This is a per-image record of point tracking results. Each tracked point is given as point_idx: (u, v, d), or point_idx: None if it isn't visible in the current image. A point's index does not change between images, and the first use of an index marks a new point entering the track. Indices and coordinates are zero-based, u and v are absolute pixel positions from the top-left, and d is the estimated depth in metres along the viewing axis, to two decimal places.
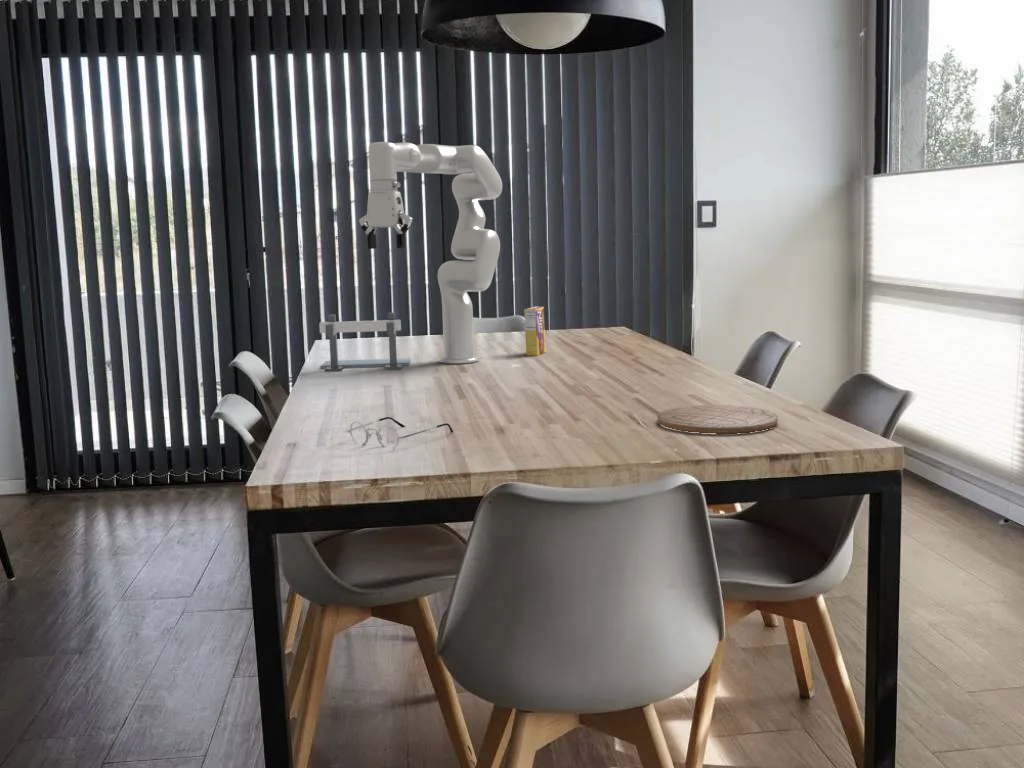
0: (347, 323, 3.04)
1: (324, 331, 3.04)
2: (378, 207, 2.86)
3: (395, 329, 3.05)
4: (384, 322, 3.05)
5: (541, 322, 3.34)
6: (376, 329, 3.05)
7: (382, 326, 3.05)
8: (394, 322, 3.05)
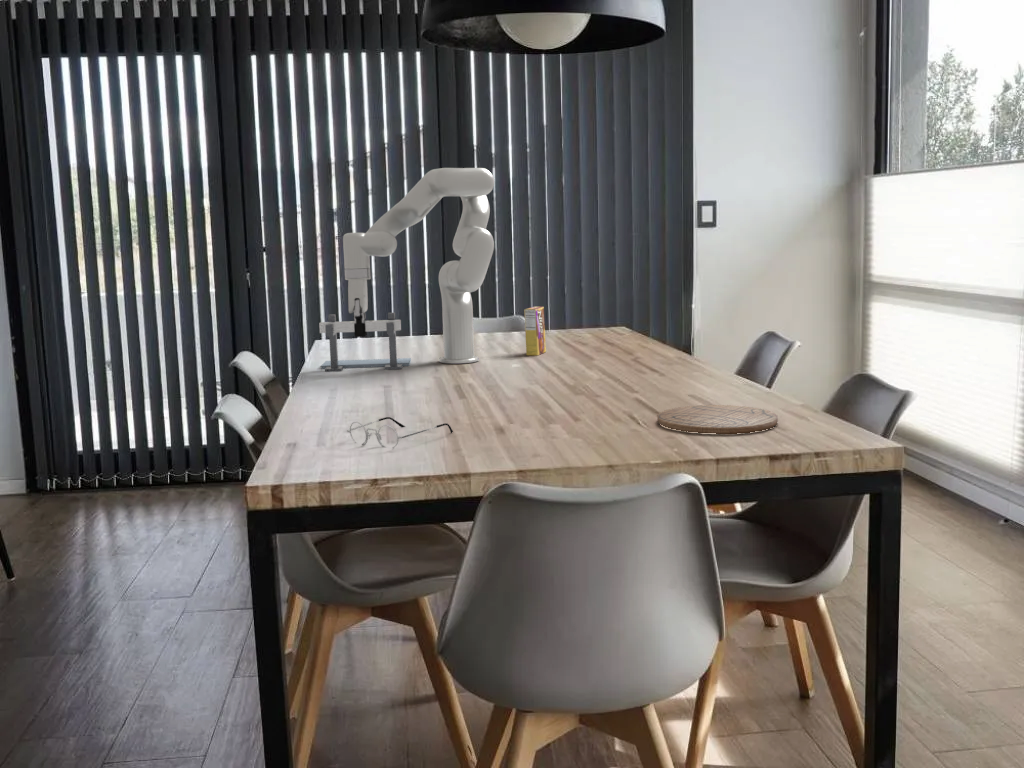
0: (347, 323, 3.04)
1: (324, 331, 3.04)
2: (366, 293, 3.04)
3: (395, 329, 3.05)
4: (384, 322, 3.05)
5: (541, 322, 3.34)
6: (376, 329, 3.05)
7: (382, 326, 3.05)
8: (394, 322, 3.05)
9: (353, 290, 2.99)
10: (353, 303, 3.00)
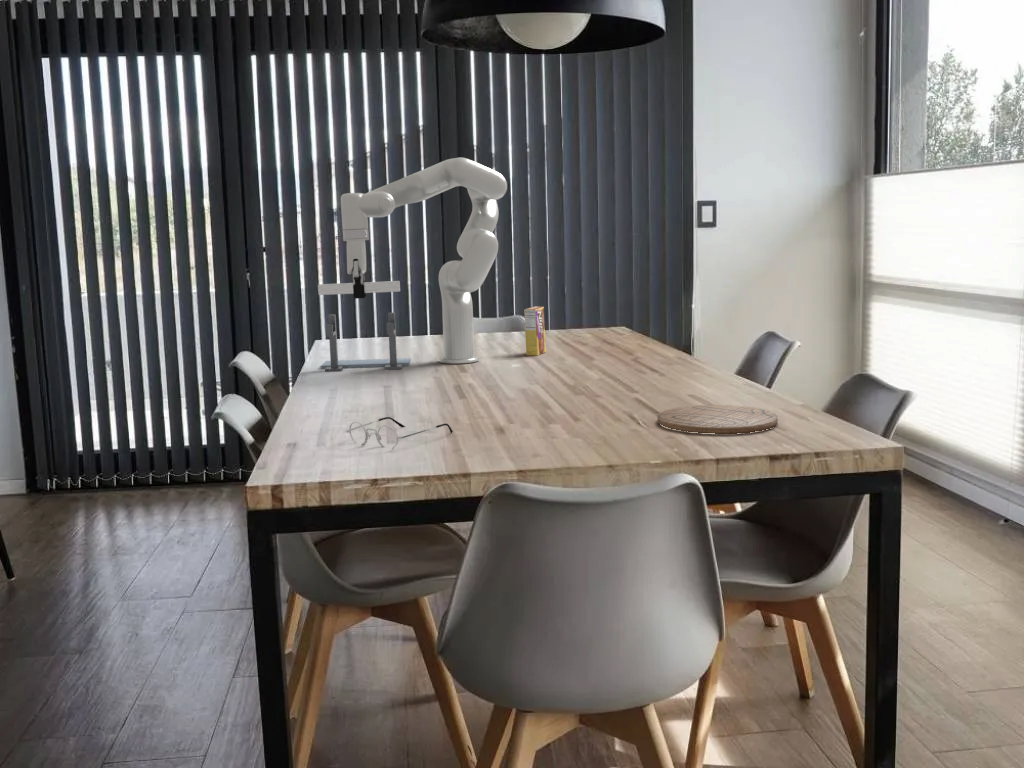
0: (346, 285, 3.03)
1: (323, 293, 3.03)
2: (365, 254, 3.02)
3: (394, 290, 3.03)
4: (383, 283, 3.03)
5: (541, 322, 3.34)
6: (375, 290, 3.03)
7: (381, 287, 3.03)
8: (393, 283, 3.03)
9: (351, 251, 2.97)
10: (352, 264, 2.98)
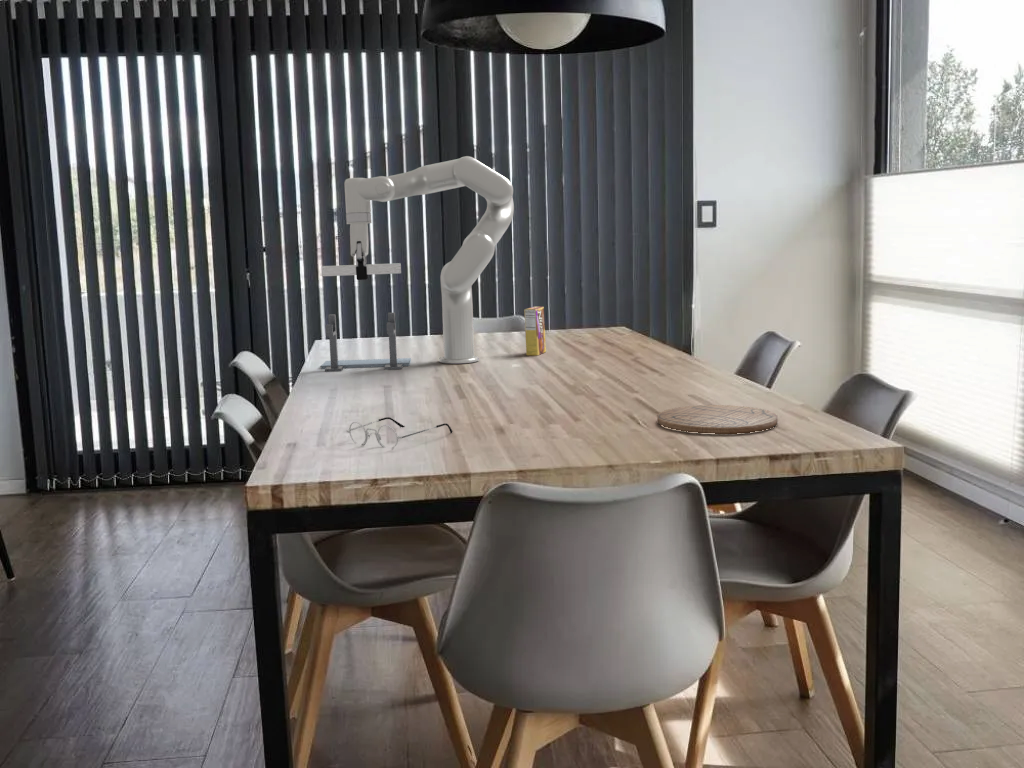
0: (349, 266, 3.13)
1: (326, 274, 3.13)
2: None
3: (395, 272, 3.14)
4: (385, 265, 3.14)
5: (541, 322, 3.34)
6: (377, 272, 3.14)
7: (383, 269, 3.14)
8: (394, 265, 3.14)
9: (355, 233, 3.08)
10: (355, 246, 3.09)
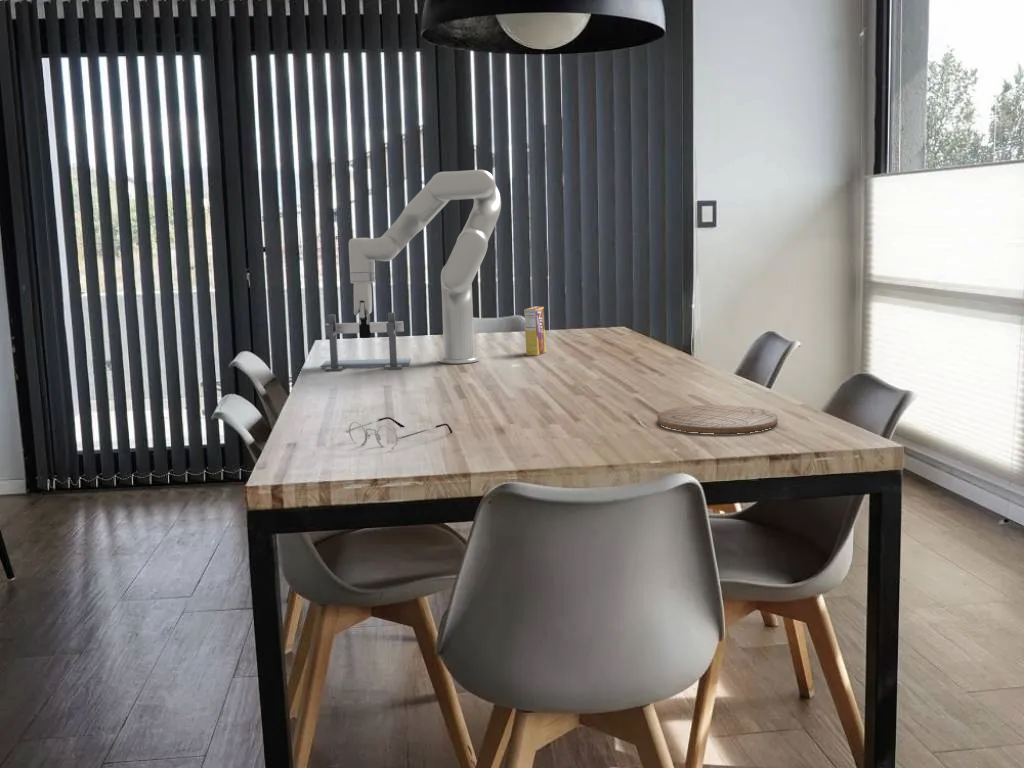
0: (352, 324, 3.17)
1: None
2: (371, 295, 3.17)
3: (398, 330, 3.18)
4: None
5: (541, 322, 3.34)
6: (380, 330, 3.18)
7: (386, 327, 3.18)
8: (397, 323, 3.18)
9: (358, 293, 3.12)
10: (358, 305, 3.13)
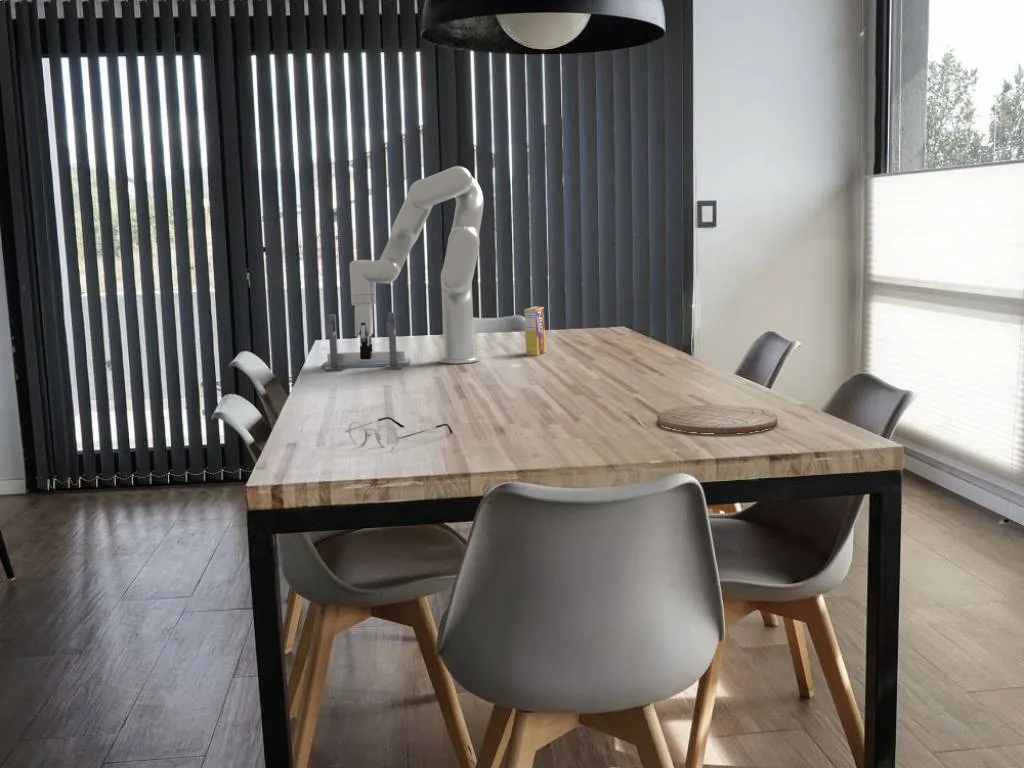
0: (354, 354, 3.19)
1: None
2: (372, 317, 3.18)
3: (400, 360, 3.20)
4: (389, 353, 3.19)
5: (541, 322, 3.34)
6: (381, 360, 3.20)
7: (387, 357, 3.19)
8: (399, 353, 3.19)
9: (359, 315, 3.13)
10: (359, 327, 3.14)
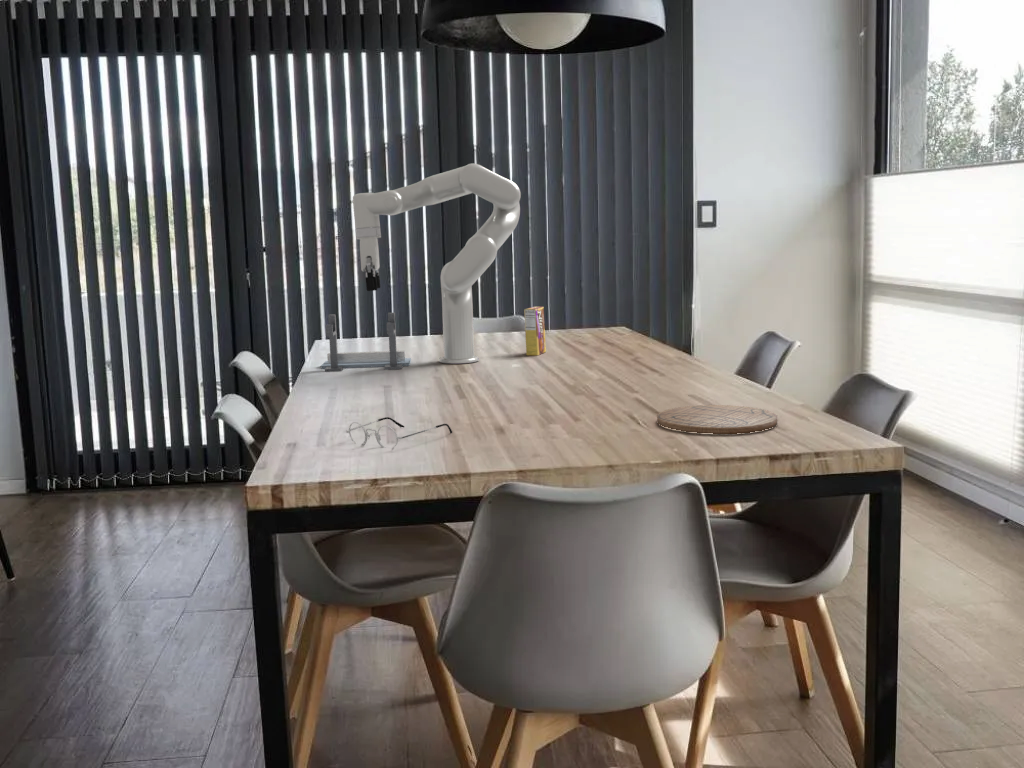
0: (354, 354, 3.19)
1: None
2: (378, 251, 3.14)
3: (400, 360, 3.20)
4: (389, 353, 3.19)
5: (541, 322, 3.34)
6: (381, 360, 3.20)
7: (387, 357, 3.19)
8: (399, 353, 3.19)
9: (365, 248, 3.10)
10: (365, 261, 3.10)
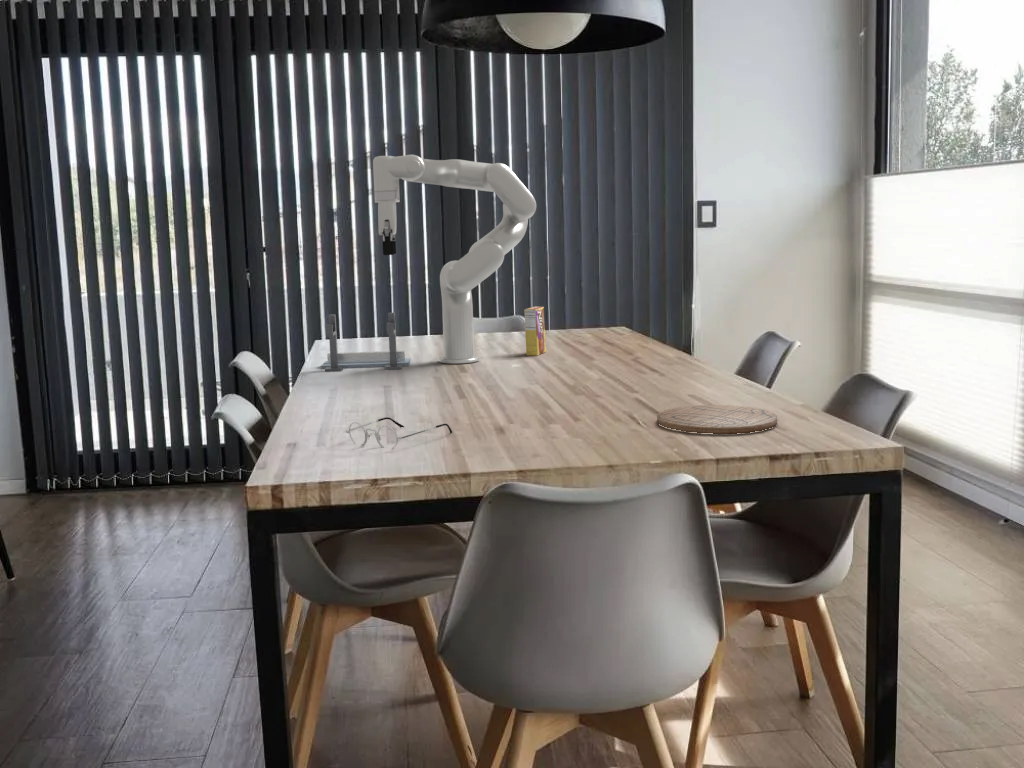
0: (354, 354, 3.19)
1: None
2: None
3: (400, 360, 3.20)
4: (389, 353, 3.19)
5: (541, 322, 3.34)
6: (381, 360, 3.20)
7: (387, 357, 3.19)
8: (399, 353, 3.19)
9: (383, 212, 3.06)
10: (383, 224, 3.06)
